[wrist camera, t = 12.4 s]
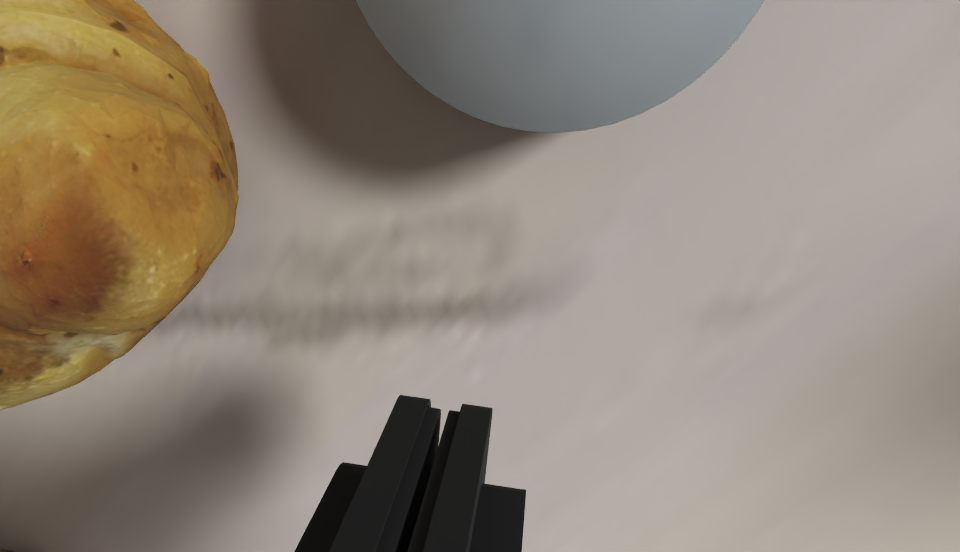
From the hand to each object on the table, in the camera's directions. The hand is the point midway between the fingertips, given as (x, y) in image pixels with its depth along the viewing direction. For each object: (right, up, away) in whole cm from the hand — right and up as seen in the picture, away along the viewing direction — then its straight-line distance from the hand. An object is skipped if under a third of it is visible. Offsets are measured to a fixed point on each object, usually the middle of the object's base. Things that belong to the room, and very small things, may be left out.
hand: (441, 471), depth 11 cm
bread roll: (-11, +6, +7) cm, 14 cm away
